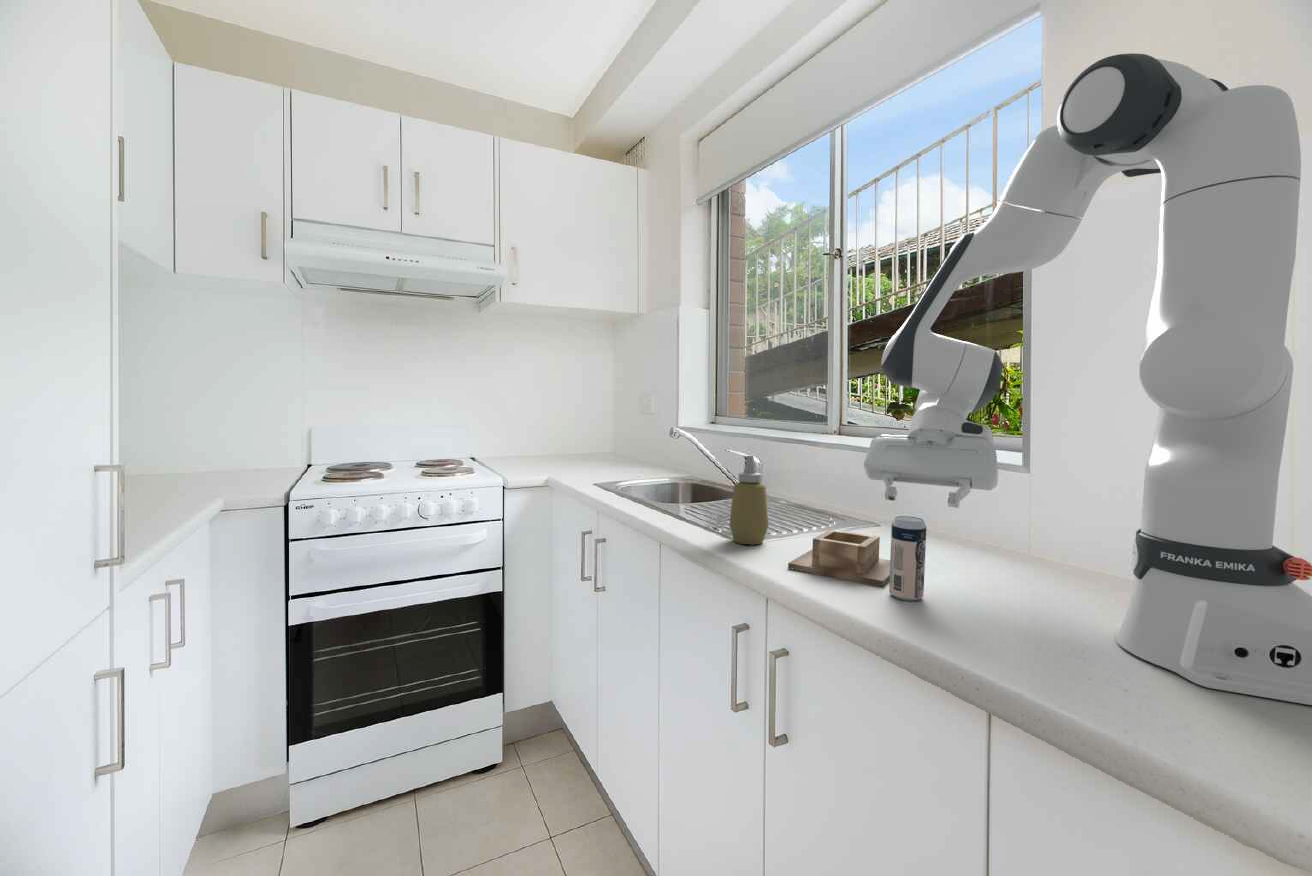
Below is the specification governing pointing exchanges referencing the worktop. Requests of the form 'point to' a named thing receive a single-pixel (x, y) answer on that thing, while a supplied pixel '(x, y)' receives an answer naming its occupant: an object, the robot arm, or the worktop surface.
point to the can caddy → (845, 558)
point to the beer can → (907, 558)
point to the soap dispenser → (749, 507)
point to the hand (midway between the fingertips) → (920, 501)
